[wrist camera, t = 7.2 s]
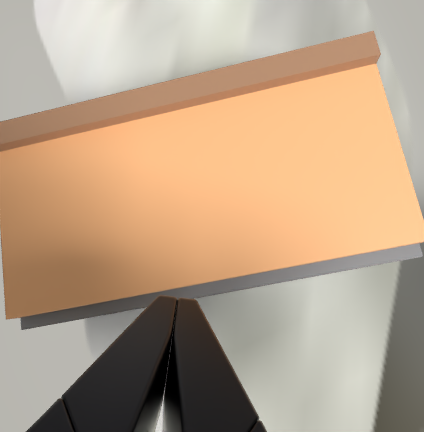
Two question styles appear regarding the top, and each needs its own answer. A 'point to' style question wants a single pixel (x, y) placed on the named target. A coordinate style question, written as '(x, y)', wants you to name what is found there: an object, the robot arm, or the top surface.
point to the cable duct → (227, 285)
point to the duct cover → (204, 180)
